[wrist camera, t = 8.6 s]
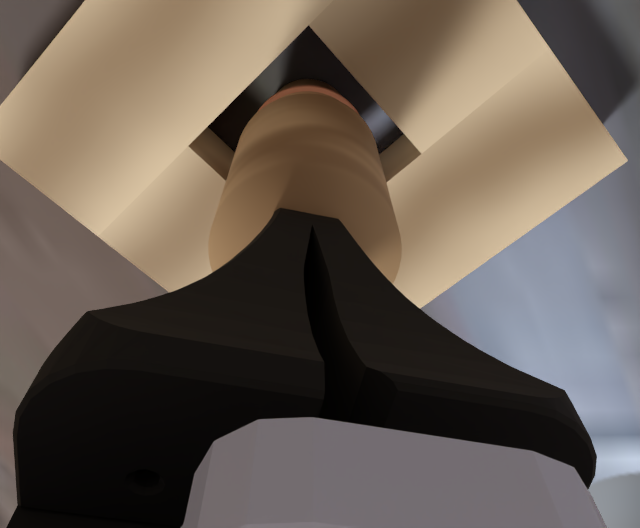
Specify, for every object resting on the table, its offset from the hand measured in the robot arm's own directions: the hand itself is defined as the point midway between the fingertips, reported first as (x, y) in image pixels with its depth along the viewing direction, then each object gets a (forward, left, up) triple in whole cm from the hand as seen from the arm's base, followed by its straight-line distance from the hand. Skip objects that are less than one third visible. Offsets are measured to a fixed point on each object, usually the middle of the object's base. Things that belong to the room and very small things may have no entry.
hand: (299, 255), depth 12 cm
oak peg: (0, 0, -9) cm, 9 cm away
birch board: (0, 0, -9) cm, 9 cm away
